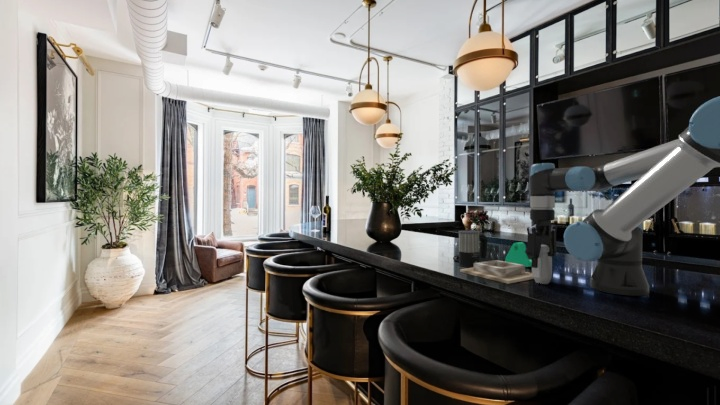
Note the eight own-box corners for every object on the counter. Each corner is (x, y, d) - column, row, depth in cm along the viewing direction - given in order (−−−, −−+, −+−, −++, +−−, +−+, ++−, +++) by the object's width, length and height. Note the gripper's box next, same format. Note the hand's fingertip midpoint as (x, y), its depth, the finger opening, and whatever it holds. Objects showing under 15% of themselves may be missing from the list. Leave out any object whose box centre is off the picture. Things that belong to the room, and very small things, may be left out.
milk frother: (472, 268, 146) (472, 232, 146) (441, 263, 158) (441, 230, 158) (490, 264, 155) (490, 230, 155) (459, 259, 167) (459, 228, 167)
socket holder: (540, 277, 130) (540, 266, 129) (508, 283, 120) (508, 272, 120) (490, 267, 148) (491, 257, 148) (460, 272, 139) (460, 261, 139)
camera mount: (541, 267, 147) (541, 243, 147) (527, 269, 144) (527, 244, 144) (518, 263, 158) (518, 240, 158) (505, 264, 155) (505, 241, 155)
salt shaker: (544, 285, 118) (544, 246, 118) (528, 281, 123) (529, 244, 123) (555, 283, 120) (555, 245, 120) (539, 279, 126) (540, 243, 125)
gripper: (547, 207, 129) (547, 270, 130) (515, 209, 120) (514, 277, 120) (568, 208, 123) (568, 274, 123) (535, 209, 113) (535, 281, 114)
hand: (541, 275), depth 122 cm, fingers closed on salt shaker, 6 cm apart
